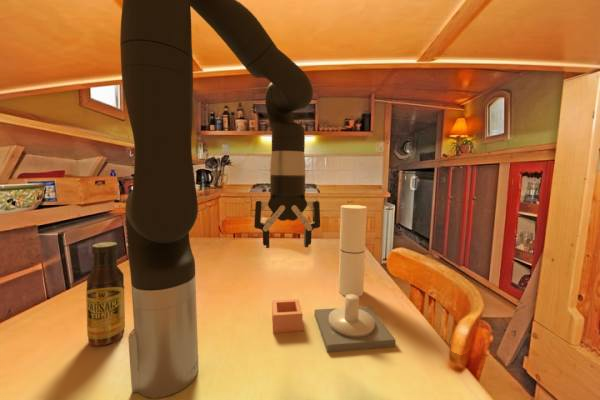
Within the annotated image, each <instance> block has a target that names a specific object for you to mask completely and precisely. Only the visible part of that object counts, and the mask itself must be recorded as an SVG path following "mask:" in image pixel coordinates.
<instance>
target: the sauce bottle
mask: <svg viewBox="0 0 600 400" xmlns="http://www.w3.org/2000/svg"><path fill="white" fill-rule="evenodd" d="M117 252H118V243H117V242H113V241H103V242H98V243H95V244H93V245H92V247H91V253H92V254H93V255H92V256H93V265H92V269H91V271H90V273H89V275H88V276H87V279H86V292H85V297H86V333H87V336H86V337H87V339H88V343H89V345H91V346H95V347H101V346H105V345H106V346H107V345H109V344H112V343H114V342H117V341H118V340H119V339H121V337H122V336H124V334H125V329H126V328H125V327H126V316H125V315H126V314H125V313H126V312H125V311H126V308H125V303H126V302H125V284H124V282H125V281H124V273H123V272H122V270H121V269H120V268H119V266H118V260H117Z"/></svg>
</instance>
